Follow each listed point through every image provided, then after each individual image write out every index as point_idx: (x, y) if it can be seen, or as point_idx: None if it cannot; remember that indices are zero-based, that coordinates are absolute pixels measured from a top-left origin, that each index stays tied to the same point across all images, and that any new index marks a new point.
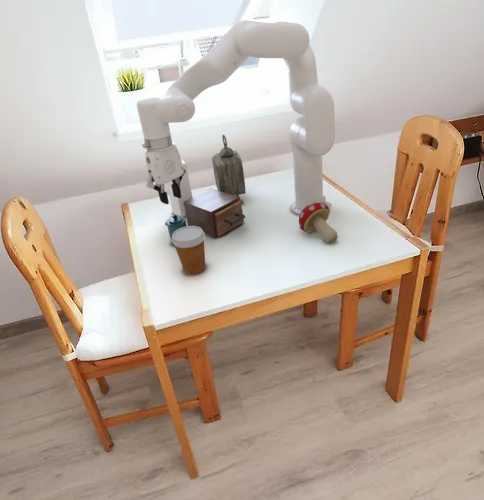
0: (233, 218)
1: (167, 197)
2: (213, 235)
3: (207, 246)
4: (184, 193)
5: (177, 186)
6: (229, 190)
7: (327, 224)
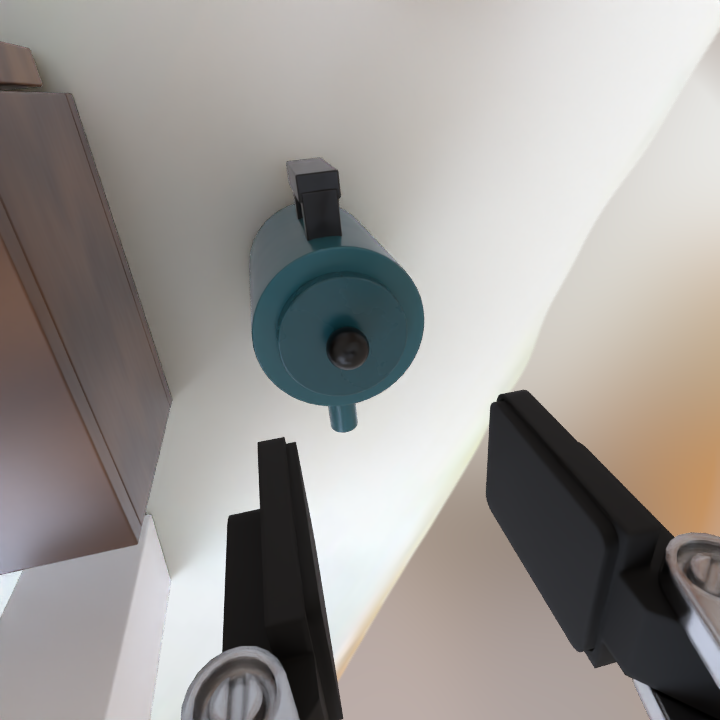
0: None
1: (546, 457)
2: (74, 118)
3: (194, 34)
4: (44, 672)
5: (307, 626)
6: None
7: None
